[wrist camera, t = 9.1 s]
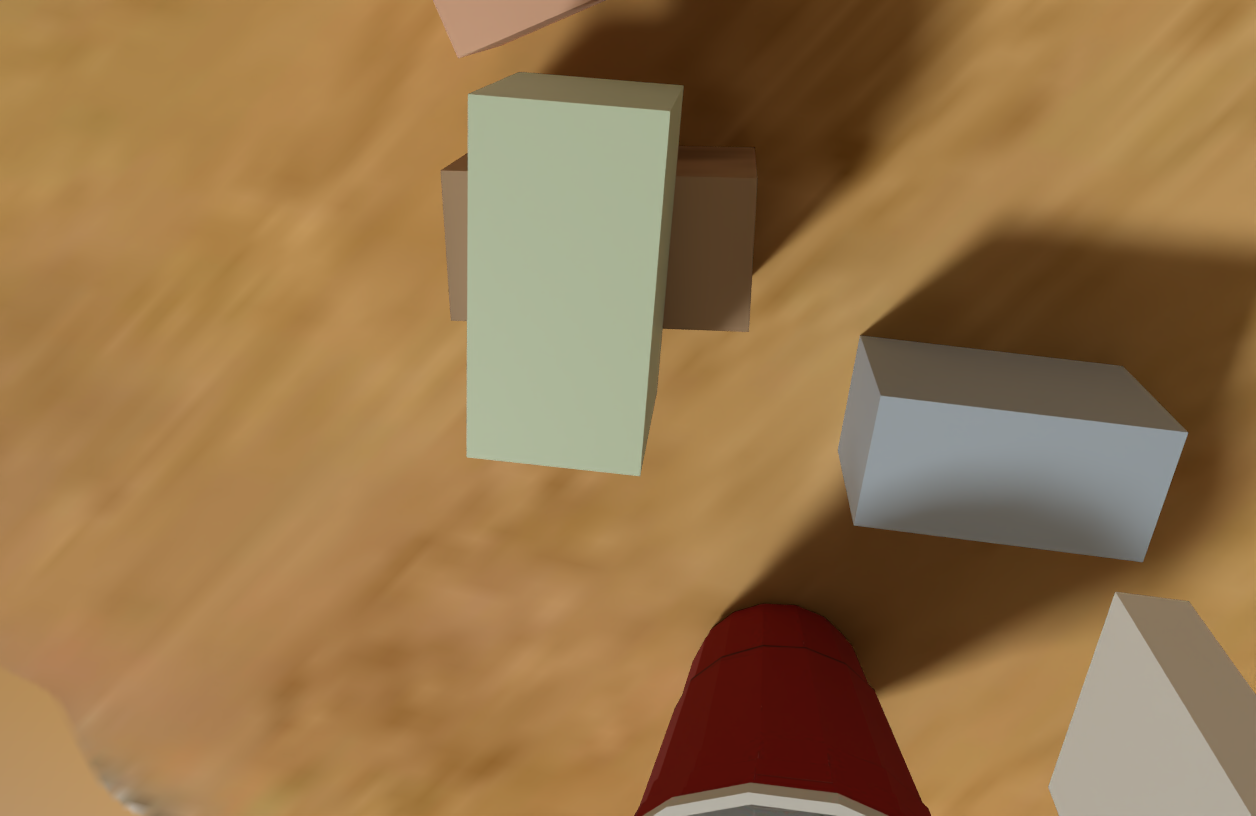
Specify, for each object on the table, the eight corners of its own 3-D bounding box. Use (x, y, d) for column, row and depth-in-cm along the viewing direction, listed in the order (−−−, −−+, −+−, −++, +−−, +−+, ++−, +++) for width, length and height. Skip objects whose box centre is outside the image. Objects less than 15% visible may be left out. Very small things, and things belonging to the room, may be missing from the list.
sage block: (519, 71, 24) (468, 93, 20) (683, 85, 24) (670, 110, 19) (512, 377, 27) (466, 456, 23) (657, 392, 27) (639, 476, 23)
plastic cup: (592, 559, 35) (527, 823, 24) (906, 520, 33) (989, 787, 22) (652, 793, 39) (618, 1110, 28) (934, 770, 37) (1016, 1100, 26)
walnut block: (754, 146, 29) (757, 178, 25) (747, 279, 31) (748, 331, 26) (486, 140, 30) (440, 170, 25) (492, 270, 31) (451, 320, 27)
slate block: (1120, 364, 31) (1188, 432, 26) (1085, 479, 32) (1142, 562, 28) (859, 334, 31) (880, 395, 26) (837, 448, 33) (853, 525, 28)
